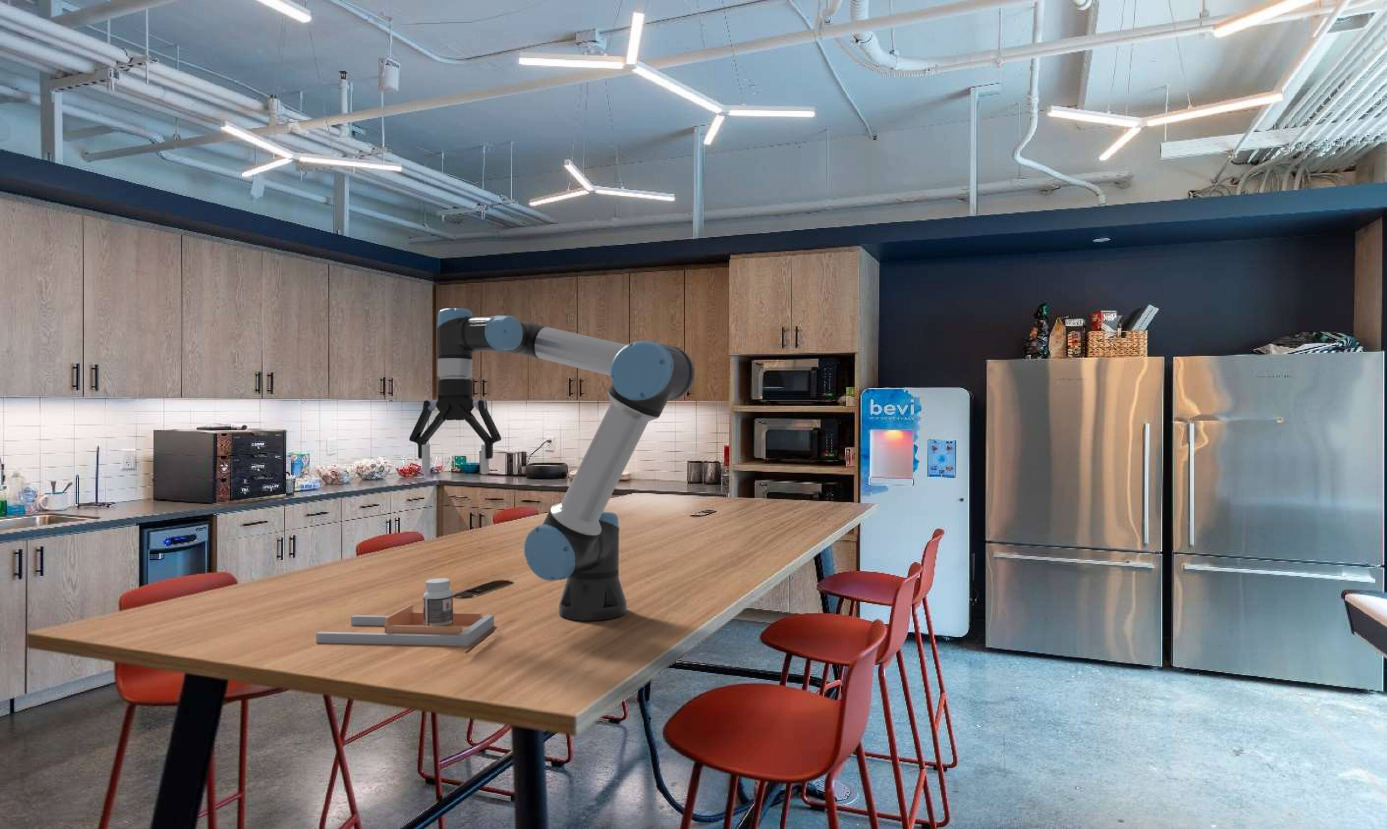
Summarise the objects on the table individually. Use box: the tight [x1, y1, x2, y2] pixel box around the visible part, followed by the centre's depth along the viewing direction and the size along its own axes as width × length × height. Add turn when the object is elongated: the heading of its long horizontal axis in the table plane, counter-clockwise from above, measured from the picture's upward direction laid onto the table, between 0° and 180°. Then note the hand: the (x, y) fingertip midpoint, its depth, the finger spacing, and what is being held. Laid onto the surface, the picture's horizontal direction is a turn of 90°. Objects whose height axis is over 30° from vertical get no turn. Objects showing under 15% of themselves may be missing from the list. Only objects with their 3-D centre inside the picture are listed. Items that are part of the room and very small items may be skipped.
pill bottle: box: [422, 577, 454, 626], centre depth 162 cm, size 6×6×10 cm
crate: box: [384, 604, 483, 635], centre depth 162 cm, size 15×11×4 cm
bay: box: [315, 614, 495, 654], centre depth 163 cm, size 30×15×4 cm, turn 85°
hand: (455, 473), depth 182 cm, fingers open, 13 cm apart
